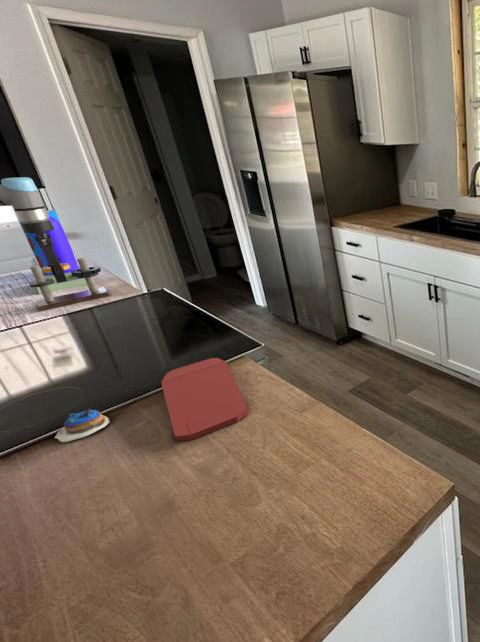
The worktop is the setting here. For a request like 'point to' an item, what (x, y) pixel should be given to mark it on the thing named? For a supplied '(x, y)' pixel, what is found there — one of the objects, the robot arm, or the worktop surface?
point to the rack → (68, 299)
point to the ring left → (63, 266)
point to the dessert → (81, 425)
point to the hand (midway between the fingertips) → (61, 279)
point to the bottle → (60, 246)
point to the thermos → (36, 248)
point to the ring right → (84, 273)
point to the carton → (202, 398)
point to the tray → (64, 283)
